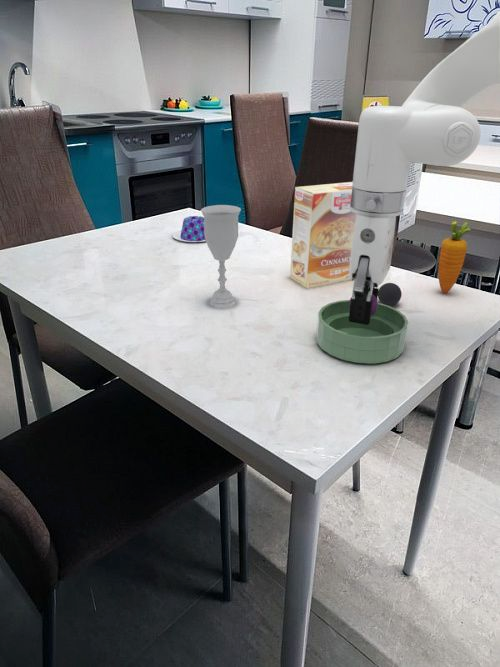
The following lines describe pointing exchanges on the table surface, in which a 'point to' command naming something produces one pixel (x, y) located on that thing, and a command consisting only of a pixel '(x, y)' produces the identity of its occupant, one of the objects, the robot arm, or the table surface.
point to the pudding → (191, 230)
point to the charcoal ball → (389, 294)
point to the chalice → (221, 244)
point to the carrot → (452, 257)
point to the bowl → (361, 333)
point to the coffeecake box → (322, 234)
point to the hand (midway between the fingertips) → (362, 315)
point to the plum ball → (374, 304)
